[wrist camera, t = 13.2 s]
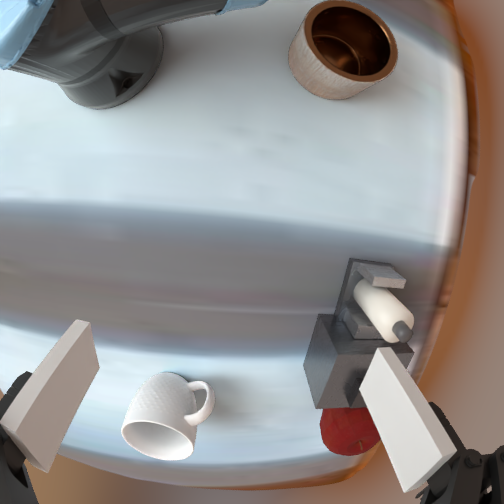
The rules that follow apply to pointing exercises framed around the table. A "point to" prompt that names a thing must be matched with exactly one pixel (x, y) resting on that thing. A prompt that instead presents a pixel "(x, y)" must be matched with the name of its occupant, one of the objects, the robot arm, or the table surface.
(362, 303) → the white bottle
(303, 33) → the planter
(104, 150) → the table surface
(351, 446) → the apple
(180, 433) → the mug
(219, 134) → the table surface
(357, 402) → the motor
